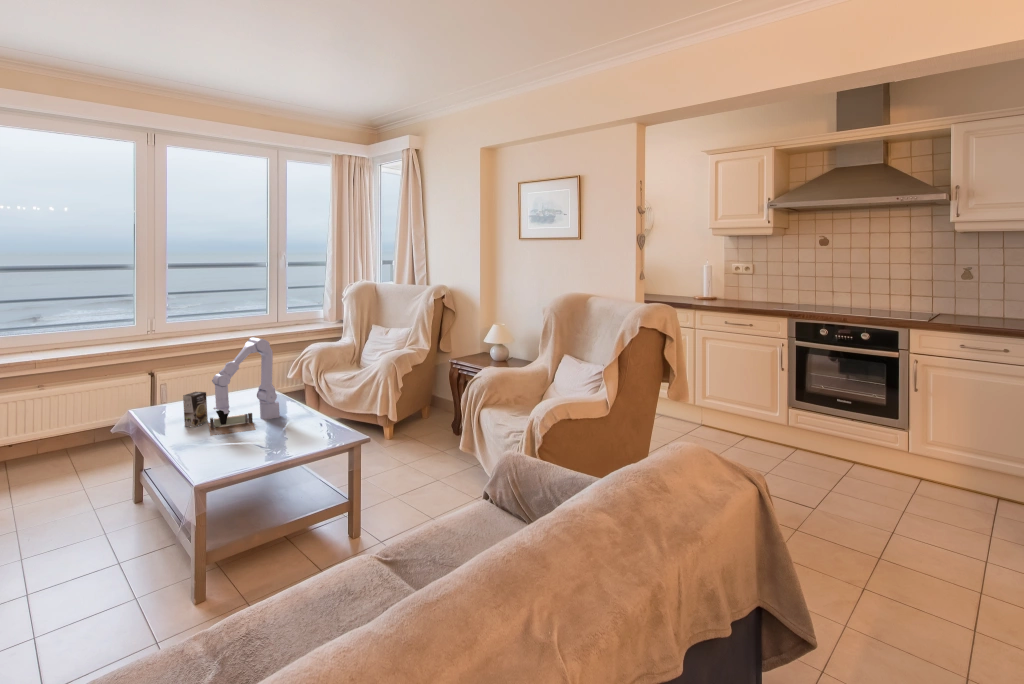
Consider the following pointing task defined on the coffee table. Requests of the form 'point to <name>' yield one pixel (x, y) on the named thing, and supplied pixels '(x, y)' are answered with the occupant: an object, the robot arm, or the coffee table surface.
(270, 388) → the robot arm
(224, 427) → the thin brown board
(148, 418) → the coffee table surface
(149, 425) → the coffee table surface
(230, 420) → the gate
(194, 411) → the coffee box
